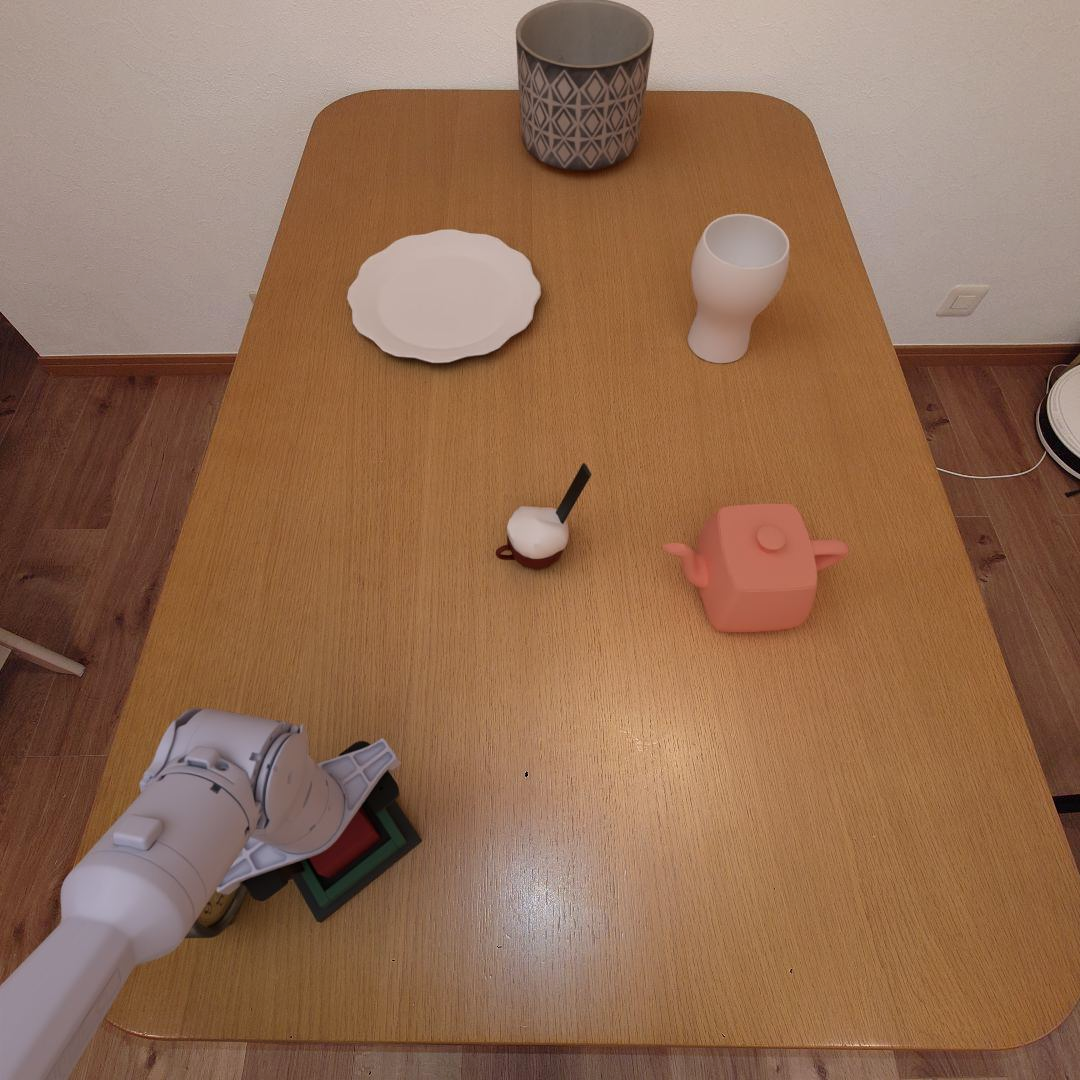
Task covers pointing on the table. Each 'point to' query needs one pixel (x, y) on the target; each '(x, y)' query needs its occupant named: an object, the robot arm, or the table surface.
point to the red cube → (347, 846)
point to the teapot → (757, 567)
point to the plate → (444, 296)
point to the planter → (582, 82)
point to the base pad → (359, 863)
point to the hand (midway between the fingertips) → (336, 830)
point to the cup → (734, 282)
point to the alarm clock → (218, 914)
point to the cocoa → (542, 529)
